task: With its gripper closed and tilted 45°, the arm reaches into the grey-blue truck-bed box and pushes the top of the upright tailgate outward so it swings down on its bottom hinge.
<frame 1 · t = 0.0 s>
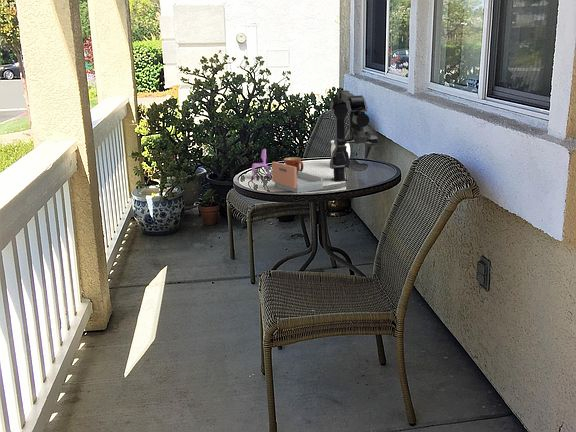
hand: (356, 159, 263), 15 cm above the table, tool pointing down, fingers open, 9 cm apart
tailgate: (283, 174, 276), point 7 cm above the table, hinge at -3.0°
mug: (295, 179, 302), on the table
toy chair: (261, 178, 309), on the table
bed: (298, 187, 282), on the table
jar: (340, 167, 326), on the table
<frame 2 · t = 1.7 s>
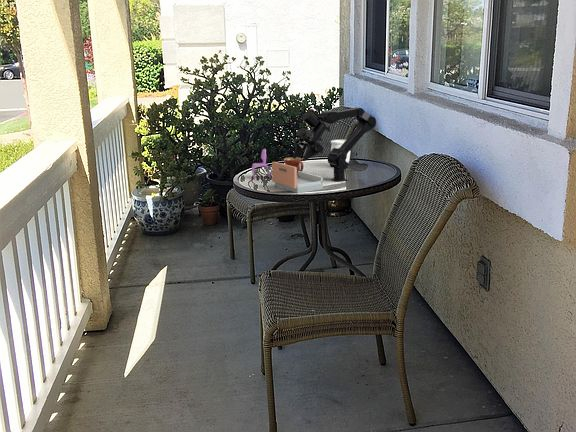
hand: (298, 159, 278), 13 cm above the table, tool tilted 45°, fingers open, 8 cm apart
nothing on the table moved.
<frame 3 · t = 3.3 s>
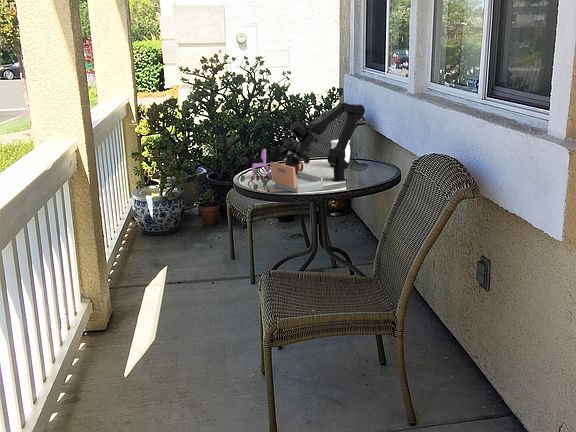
hand: (284, 169, 276), 10 cm above the table, tool tilted 45°, fingers closed, pressing on tailgate
tailgate: (282, 174, 276), point 7 cm above the table, hinge at 3.0°, touching gripper
everything else where it was.
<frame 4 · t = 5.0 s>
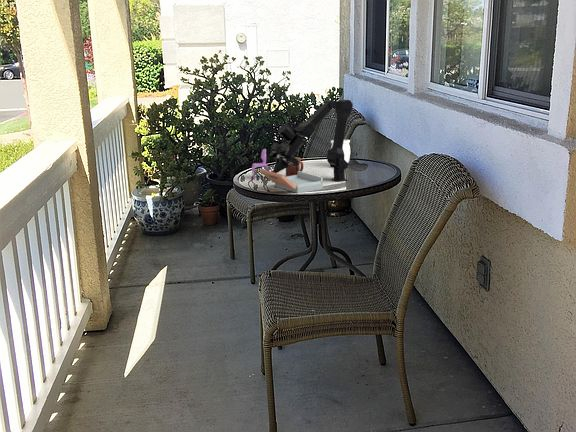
hand: (273, 173, 273), 9 cm above the table, tool tilted 45°, fingers closed
tailgate: (277, 179, 275), point 6 cm above the table, hinge at 46.3°
everything else where it was.
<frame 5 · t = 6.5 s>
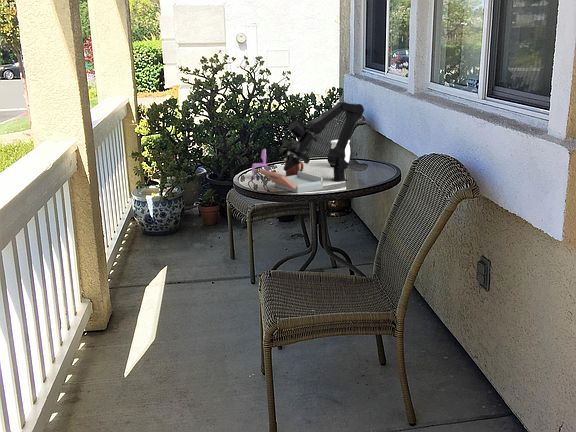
hand: (284, 170, 276), 9 cm above the table, tool tilted 45°, fingers closed
nothing on the table moved.
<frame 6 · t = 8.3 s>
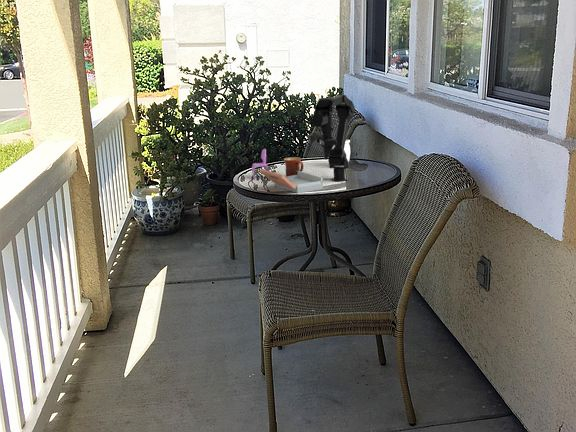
hand: (325, 159, 277), 13 cm above the table, tool pointing down, fingers closed
nothing on the table moved.
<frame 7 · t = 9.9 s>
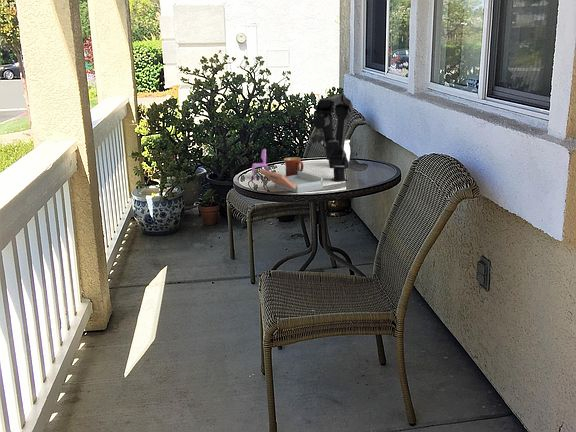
hand: (328, 159, 277), 13 cm above the table, tool pointing down, fingers closed
nothing on the table moved.
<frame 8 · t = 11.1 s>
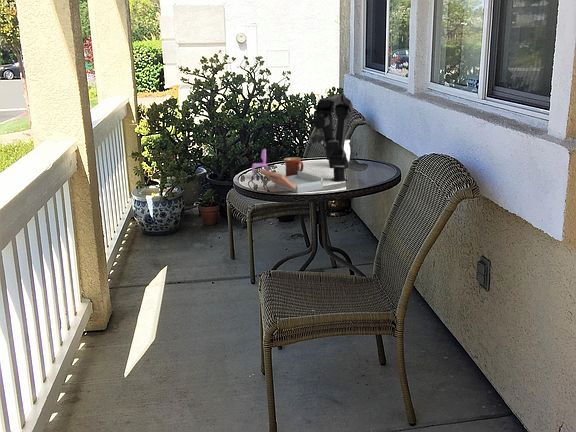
hand: (328, 159, 277), 13 cm above the table, tool pointing down, fingers closed
nothing on the table moved.
at the end: tailgate at +46° (first picture: -3°) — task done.
